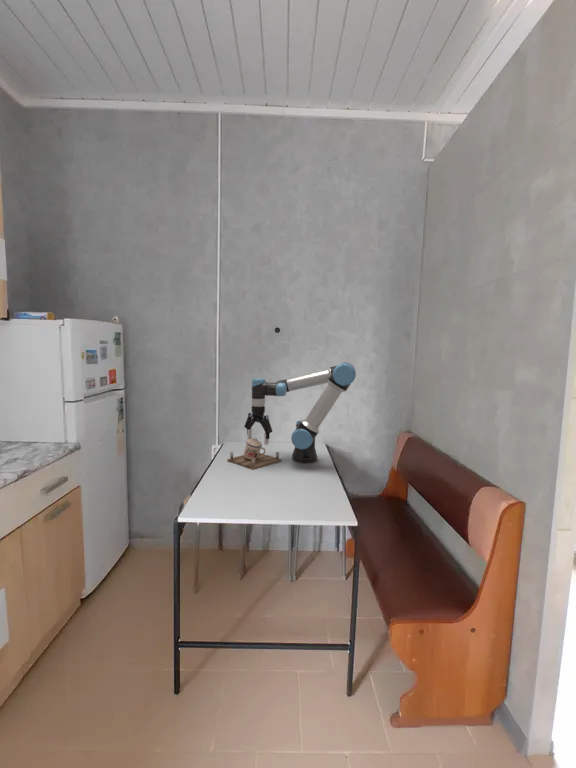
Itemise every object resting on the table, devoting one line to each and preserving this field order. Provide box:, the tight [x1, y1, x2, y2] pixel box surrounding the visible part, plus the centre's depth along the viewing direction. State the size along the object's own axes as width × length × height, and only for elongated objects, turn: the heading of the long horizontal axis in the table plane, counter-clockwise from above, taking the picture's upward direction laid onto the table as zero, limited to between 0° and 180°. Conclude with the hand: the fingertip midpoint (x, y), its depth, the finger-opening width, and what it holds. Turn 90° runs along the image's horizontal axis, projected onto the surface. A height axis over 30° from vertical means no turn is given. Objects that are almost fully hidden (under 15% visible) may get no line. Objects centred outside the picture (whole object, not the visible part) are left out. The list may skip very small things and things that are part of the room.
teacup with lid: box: [243, 437, 266, 460], centre depth 224 cm, size 12×9×12 cm
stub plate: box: [226, 451, 283, 471], centre depth 225 cm, size 21×23×5 cm
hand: (257, 442), depth 223 cm, fingers open, 13 cm apart
